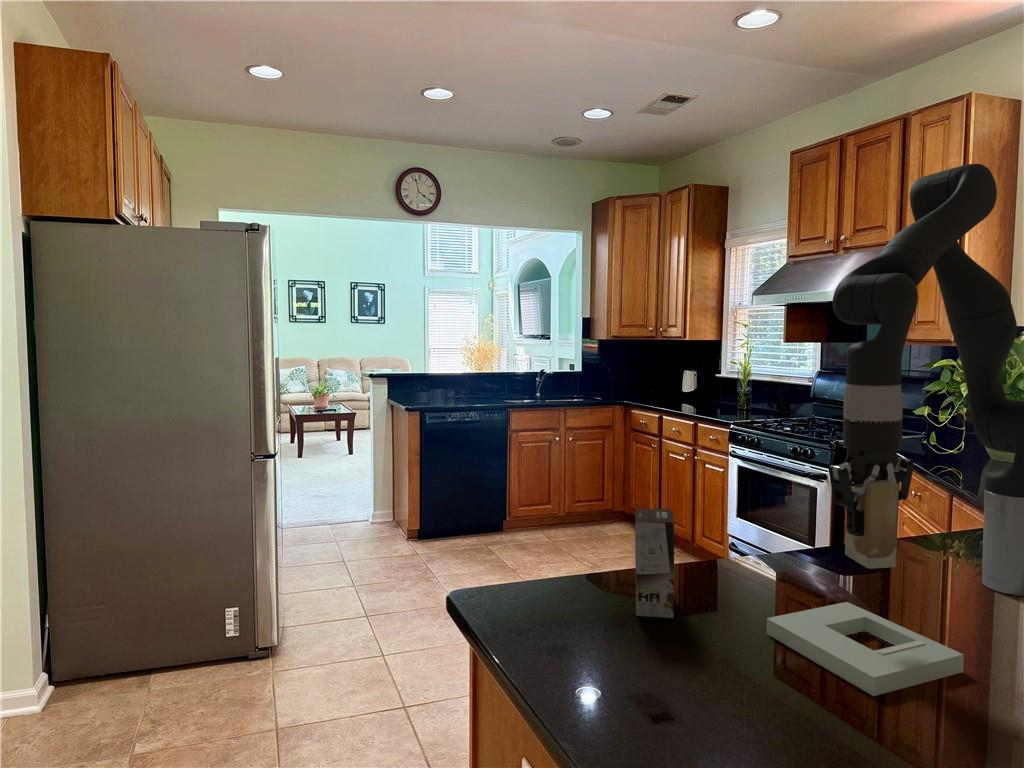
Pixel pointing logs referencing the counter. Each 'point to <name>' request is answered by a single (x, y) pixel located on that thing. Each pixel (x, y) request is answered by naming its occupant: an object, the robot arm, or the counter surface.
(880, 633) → the socket board
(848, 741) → the counter surface
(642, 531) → the coffee box
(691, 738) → the counter surface
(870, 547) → the skincare box
